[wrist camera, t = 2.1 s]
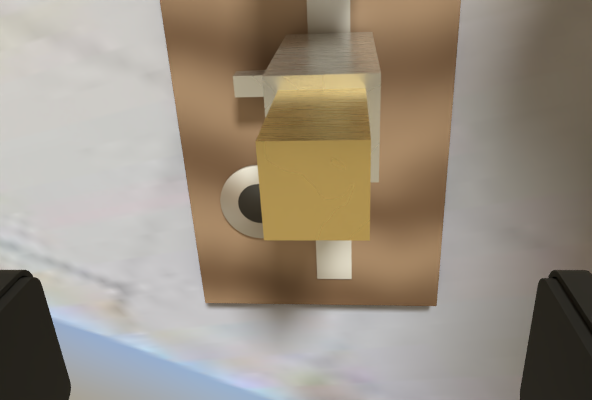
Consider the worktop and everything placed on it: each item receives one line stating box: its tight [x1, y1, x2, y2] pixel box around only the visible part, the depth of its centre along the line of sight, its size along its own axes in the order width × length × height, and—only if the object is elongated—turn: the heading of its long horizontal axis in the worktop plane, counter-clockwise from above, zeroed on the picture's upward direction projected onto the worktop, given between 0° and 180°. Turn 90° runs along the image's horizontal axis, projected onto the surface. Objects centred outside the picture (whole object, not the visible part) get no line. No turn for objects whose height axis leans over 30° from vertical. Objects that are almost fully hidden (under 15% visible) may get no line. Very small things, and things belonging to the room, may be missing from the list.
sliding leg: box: [233, 32, 381, 241], centre depth 21 cm, size 4×6×13 cm, turn 93°
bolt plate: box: [160, 0, 461, 306], centre depth 23 cm, size 30×14×10 cm, turn 3°
